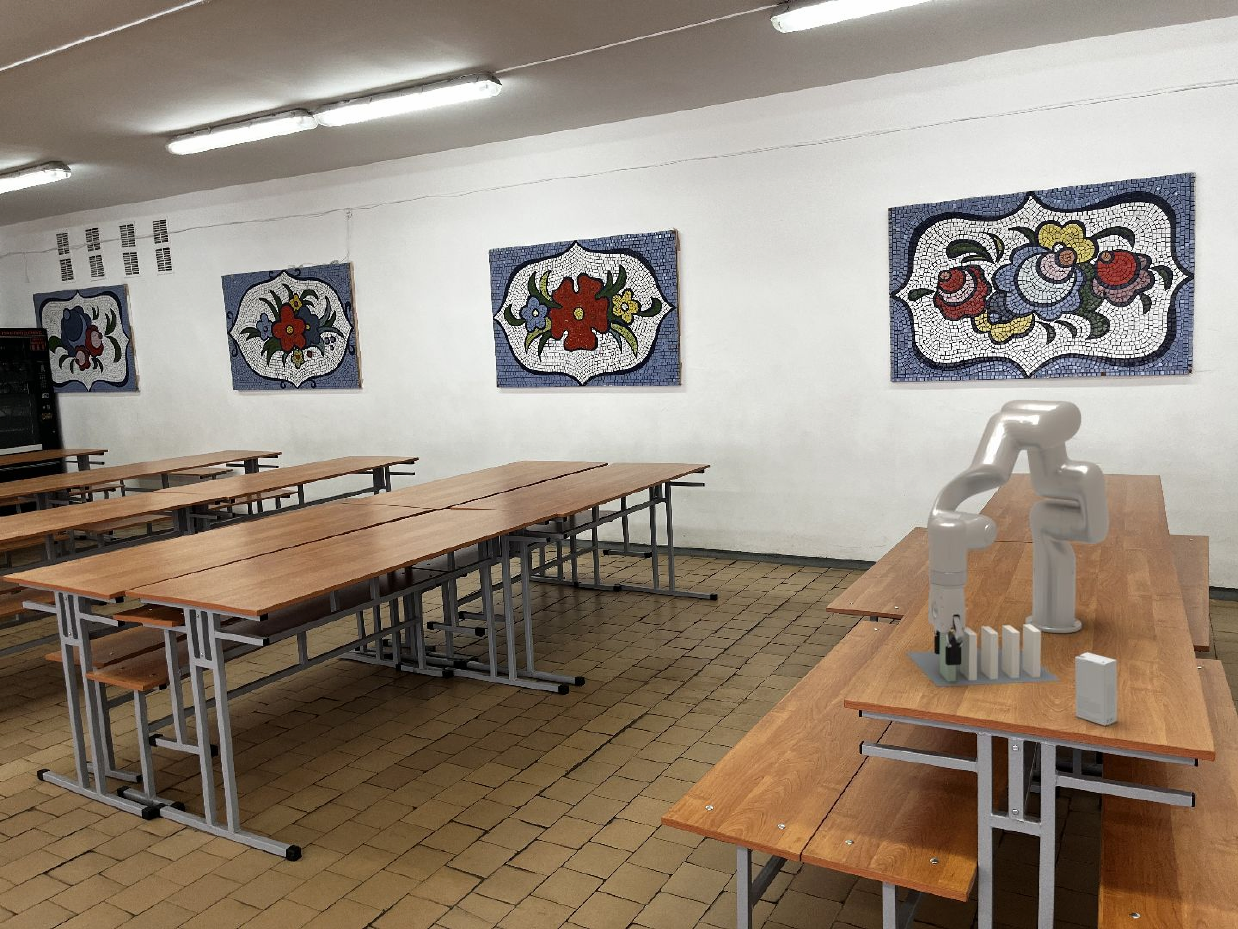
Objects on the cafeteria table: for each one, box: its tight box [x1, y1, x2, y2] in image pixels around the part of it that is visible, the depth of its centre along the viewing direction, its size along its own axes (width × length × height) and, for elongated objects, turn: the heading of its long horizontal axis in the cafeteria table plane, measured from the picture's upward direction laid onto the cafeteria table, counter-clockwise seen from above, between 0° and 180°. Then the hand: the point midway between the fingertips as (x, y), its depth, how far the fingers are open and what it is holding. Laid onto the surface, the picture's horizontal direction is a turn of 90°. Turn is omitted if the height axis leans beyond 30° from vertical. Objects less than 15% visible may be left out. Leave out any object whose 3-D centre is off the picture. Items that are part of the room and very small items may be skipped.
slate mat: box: [905, 647, 1062, 688], centre depth 206 cm, size 26×21×1 cm
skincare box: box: [1074, 652, 1118, 727], centre depth 176 cm, size 6×4×12 cm
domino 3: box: [1001, 624, 1021, 678], centre depth 200 cm, size 2×5×10 cm, turn 0°
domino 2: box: [980, 625, 999, 679], centre depth 200 cm, size 2×5×10 cm, turn 0°
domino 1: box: [960, 626, 978, 680], centre depth 200 cm, size 2×5×10 cm, turn 0°
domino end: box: [940, 630, 956, 681], centre depth 200 cm, size 2×5×10 cm, turn 1°
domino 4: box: [1022, 623, 1042, 677], centre depth 200 cm, size 2×5×10 cm, turn 1°
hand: (947, 658), depth 200 cm, fingers open, 6 cm apart
